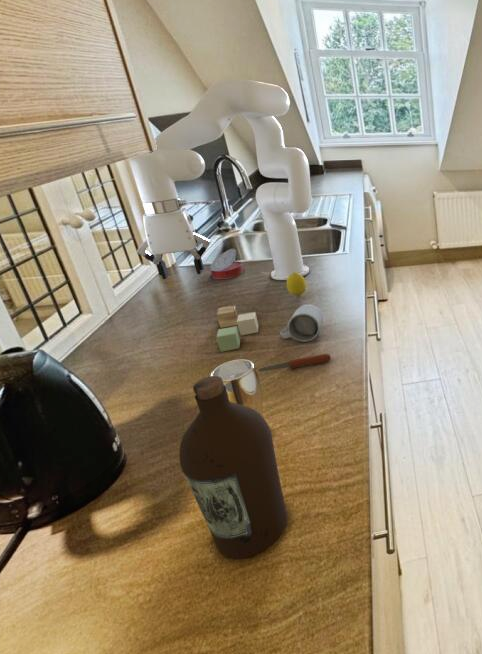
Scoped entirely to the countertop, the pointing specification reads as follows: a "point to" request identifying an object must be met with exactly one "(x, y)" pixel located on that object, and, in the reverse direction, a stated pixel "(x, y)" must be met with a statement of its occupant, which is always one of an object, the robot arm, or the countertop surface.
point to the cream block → (247, 323)
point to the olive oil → (233, 472)
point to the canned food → (226, 266)
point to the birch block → (227, 316)
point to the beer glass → (241, 383)
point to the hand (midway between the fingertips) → (183, 274)
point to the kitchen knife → (299, 362)
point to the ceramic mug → (304, 324)
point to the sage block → (228, 338)
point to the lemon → (296, 284)
